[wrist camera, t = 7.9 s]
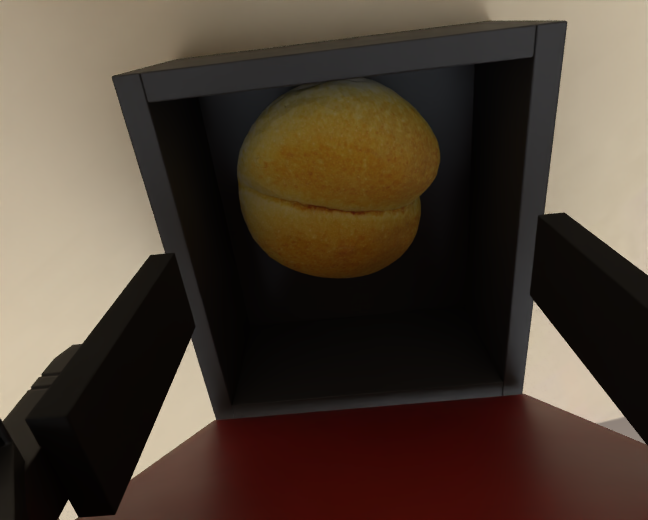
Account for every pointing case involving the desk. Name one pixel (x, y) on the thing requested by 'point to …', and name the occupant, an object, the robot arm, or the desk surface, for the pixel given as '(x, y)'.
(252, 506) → the red box lid
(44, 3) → the desk surface
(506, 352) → the dark grey open box
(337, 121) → the bread roll
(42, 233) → the desk surface
